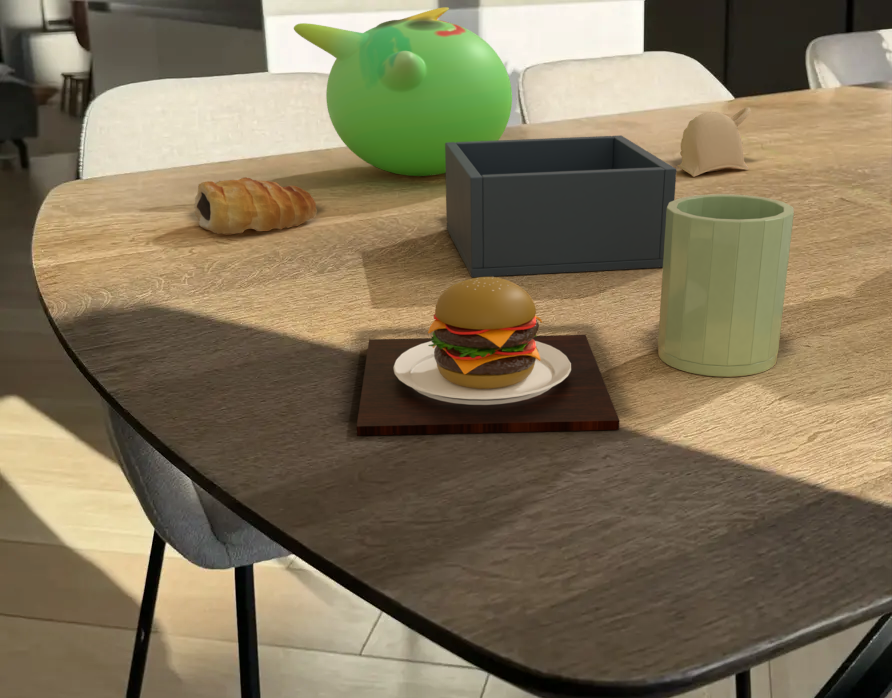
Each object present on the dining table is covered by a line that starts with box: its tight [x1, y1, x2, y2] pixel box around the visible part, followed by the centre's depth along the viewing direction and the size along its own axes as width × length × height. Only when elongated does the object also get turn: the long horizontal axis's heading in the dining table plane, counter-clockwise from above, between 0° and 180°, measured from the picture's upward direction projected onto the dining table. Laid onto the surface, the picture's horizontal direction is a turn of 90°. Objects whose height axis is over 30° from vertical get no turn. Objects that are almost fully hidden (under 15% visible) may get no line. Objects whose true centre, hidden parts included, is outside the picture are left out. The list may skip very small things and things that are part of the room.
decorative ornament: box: [677, 107, 752, 178], centre depth 105 cm, size 4×8×5 cm, turn 116°
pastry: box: [194, 176, 318, 236], centre depth 88 cm, size 9×7×4 cm
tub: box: [657, 193, 795, 378], centre depth 58 cm, size 6×6×8 cm
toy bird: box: [293, 6, 513, 177], centre depth 103 cm, size 18×17×15 cm
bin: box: [445, 135, 677, 278], centre depth 80 cm, size 14×14×7 cm
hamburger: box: [356, 276, 620, 437], centre depth 55 cm, size 12×12×6 cm
